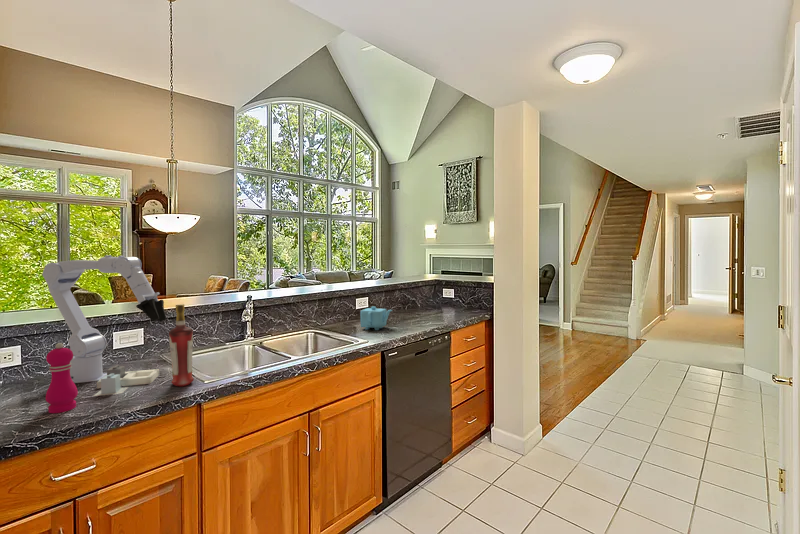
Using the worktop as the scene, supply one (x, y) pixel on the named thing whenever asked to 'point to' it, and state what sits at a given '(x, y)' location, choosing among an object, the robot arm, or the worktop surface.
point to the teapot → (374, 318)
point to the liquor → (181, 350)
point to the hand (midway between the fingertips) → (159, 320)
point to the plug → (110, 383)
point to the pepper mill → (61, 380)
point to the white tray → (132, 376)
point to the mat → (112, 393)
